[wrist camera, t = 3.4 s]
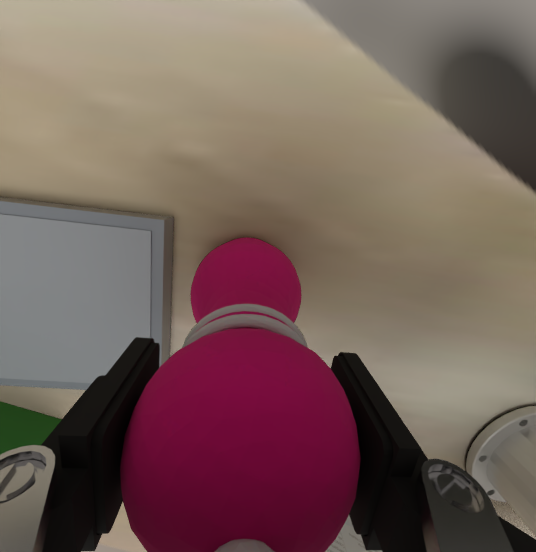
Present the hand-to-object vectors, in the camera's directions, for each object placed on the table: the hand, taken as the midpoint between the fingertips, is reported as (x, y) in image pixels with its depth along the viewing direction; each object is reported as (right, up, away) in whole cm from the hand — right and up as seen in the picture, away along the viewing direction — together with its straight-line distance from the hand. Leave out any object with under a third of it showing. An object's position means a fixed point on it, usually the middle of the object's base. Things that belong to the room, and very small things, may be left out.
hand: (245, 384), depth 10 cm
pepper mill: (-1, +4, +13) cm, 14 cm away
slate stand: (-14, +2, +12) cm, 19 cm away
